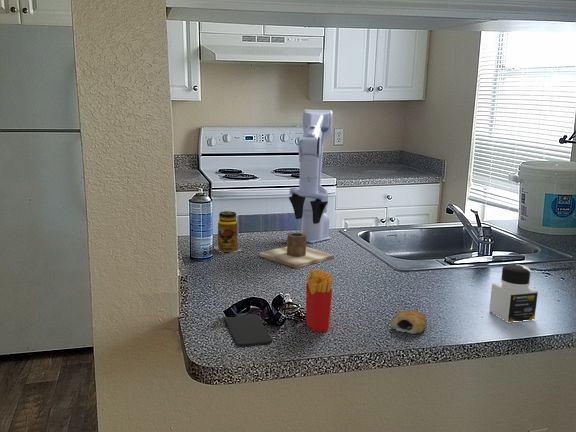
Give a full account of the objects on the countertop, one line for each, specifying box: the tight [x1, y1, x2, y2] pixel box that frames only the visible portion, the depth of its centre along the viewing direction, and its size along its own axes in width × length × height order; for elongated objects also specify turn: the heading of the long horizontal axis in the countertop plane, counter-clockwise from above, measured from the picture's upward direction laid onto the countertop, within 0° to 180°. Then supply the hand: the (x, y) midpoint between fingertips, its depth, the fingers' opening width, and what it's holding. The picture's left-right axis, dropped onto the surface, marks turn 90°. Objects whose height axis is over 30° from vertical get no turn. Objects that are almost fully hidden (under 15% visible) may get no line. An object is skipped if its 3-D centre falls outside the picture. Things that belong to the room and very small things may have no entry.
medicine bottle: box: [488, 263, 539, 322], centre depth 129 cm, size 7×7×12 cm
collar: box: [286, 231, 307, 257], centre depth 172 cm, size 6×6×6 cm
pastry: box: [390, 309, 427, 335], centre depth 123 cm, size 9×7×4 cm
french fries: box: [305, 268, 334, 332], centre depth 121 cm, size 8×4×12 cm, turn 21°
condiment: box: [213, 210, 244, 254], centre depth 178 cm, size 7×8×12 cm
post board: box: [258, 246, 335, 269], centre depth 172 cm, size 16×16×5 cm
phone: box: [224, 313, 273, 348], centre depth 119 cm, size 7×1×15 cm
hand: (307, 220), depth 175 cm, fingers open, 7 cm apart
